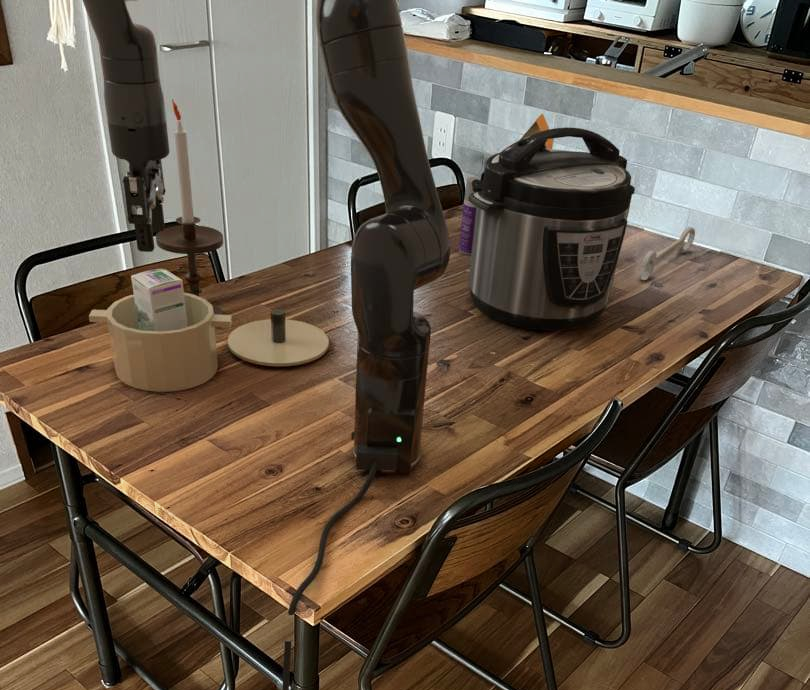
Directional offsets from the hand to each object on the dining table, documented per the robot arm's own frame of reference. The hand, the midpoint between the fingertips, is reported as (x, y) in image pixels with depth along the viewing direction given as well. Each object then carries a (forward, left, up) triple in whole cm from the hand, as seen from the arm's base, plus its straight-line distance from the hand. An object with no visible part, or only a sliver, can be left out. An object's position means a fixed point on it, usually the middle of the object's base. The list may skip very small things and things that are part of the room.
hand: (151, 240), depth 121 cm
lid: (+9, -17, -20) cm, 28 cm away
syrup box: (0, 0, -20) cm, 20 cm away
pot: (0, 0, -20) cm, 20 cm away
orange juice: (+97, -74, -20) cm, 124 cm away
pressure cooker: (+30, -65, -20) cm, 74 cm away
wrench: (+56, -98, -20) cm, 115 cm away
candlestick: (+19, -2, -20) cm, 28 cm away
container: (+59, -55, -20) cm, 83 cm away
